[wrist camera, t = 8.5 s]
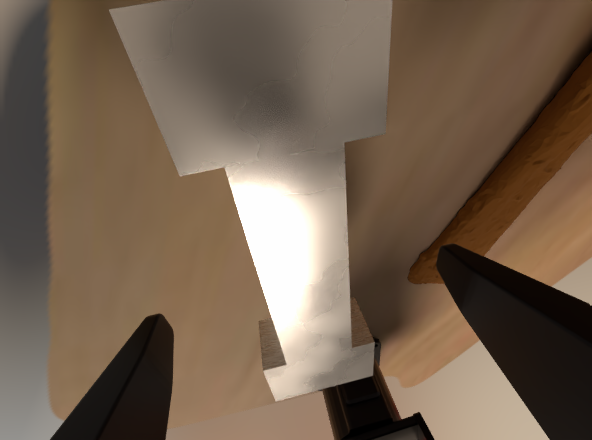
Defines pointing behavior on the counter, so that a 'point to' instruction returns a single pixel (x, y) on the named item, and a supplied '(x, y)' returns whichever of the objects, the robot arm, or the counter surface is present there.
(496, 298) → the robot arm
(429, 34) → the counter surface
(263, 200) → the spanner
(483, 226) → the primitive tool
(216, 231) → the counter surface
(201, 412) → the counter surface
